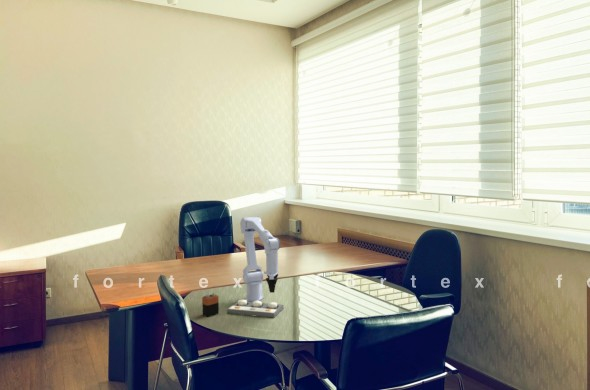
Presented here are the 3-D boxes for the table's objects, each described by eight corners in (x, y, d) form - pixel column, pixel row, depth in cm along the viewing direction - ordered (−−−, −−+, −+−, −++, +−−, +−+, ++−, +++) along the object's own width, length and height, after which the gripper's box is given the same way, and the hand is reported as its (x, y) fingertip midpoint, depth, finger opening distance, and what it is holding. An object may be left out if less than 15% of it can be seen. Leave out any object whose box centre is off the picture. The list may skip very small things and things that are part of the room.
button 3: (269, 306, 238) (269, 301, 237) (278, 307, 236) (278, 302, 236) (266, 309, 233) (266, 304, 233) (275, 310, 232) (275, 305, 232)
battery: (202, 315, 229) (201, 294, 229) (213, 312, 234) (213, 291, 233) (207, 317, 226) (207, 296, 226) (219, 314, 231) (218, 293, 230)
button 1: (240, 303, 242) (240, 299, 242) (248, 304, 241) (248, 300, 241) (236, 306, 238) (236, 301, 238) (244, 307, 237) (244, 302, 237)
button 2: (254, 305, 240) (254, 300, 240) (263, 306, 239) (263, 301, 238) (251, 307, 236) (251, 303, 235) (259, 308, 234) (259, 303, 234)
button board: (239, 304, 245) (238, 300, 245) (283, 308, 239) (283, 304, 238) (227, 313, 232) (227, 308, 232) (274, 317, 225) (274, 312, 225)
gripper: (264, 259, 240) (265, 286, 241) (262, 266, 226) (263, 294, 227) (278, 259, 240) (279, 286, 241) (277, 266, 226) (278, 294, 227)
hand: (272, 290), depth 234 cm, fingers open, 6 cm apart
